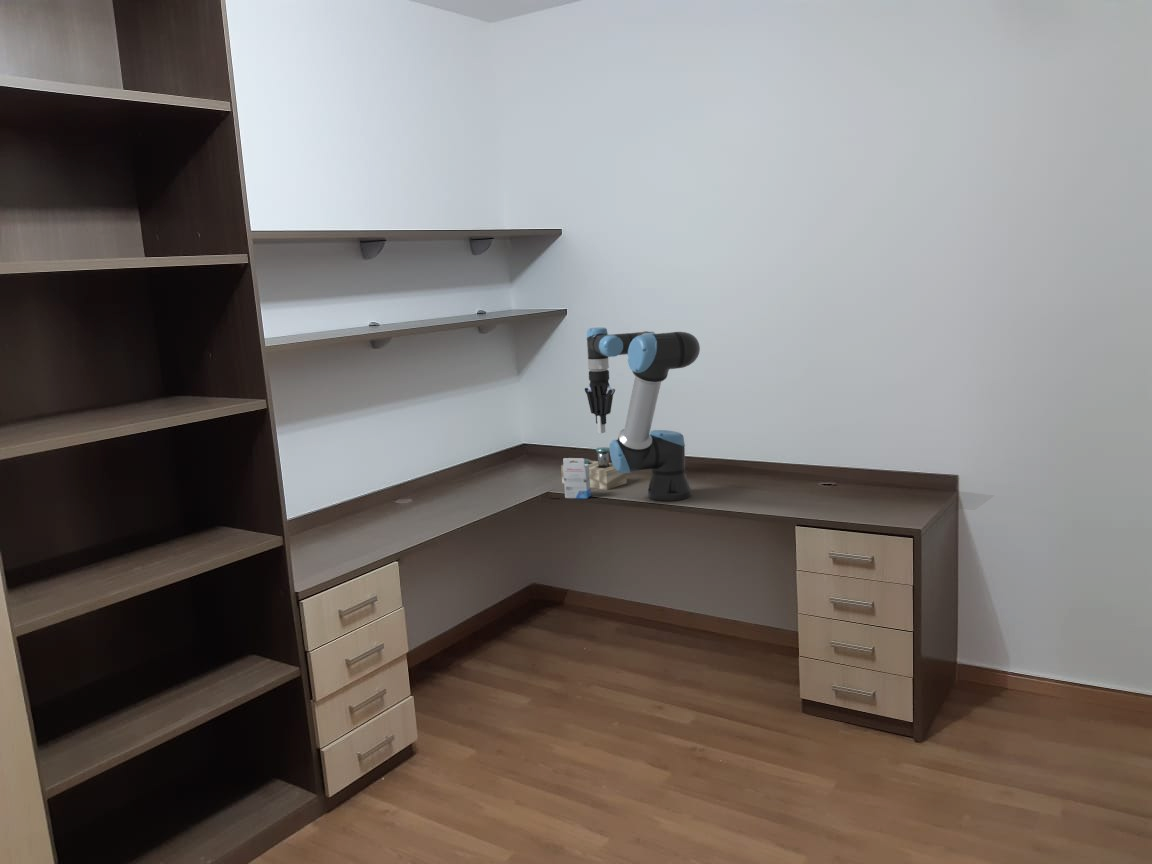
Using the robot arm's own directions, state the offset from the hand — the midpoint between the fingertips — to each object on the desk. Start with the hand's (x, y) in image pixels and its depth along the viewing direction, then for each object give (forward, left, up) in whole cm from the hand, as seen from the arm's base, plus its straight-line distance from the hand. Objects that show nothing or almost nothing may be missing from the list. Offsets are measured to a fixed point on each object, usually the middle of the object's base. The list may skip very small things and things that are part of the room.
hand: (601, 432), depth 339 cm
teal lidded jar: (+10, 0, -19) cm, 22 cm away
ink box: (-3, +19, -20) cm, 28 cm away
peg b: (0, 0, -14) cm, 14 cm away
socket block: (+5, 0, -20) cm, 20 cm away
